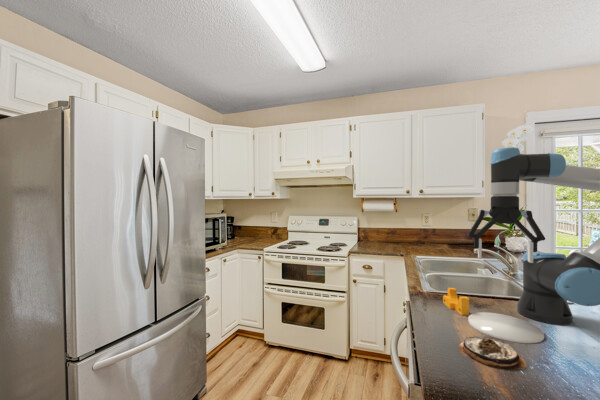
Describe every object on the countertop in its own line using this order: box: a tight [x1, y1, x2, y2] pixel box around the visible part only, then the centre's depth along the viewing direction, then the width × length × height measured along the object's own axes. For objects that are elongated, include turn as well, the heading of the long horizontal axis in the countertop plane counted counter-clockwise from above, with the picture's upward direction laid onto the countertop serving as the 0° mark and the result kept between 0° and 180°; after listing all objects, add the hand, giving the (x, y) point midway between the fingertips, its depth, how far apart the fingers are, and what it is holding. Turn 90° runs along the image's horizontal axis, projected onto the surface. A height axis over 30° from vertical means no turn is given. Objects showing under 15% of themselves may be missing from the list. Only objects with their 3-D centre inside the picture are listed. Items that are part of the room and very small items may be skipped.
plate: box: [467, 311, 545, 344], centre depth 90 cm, size 20×20×1 cm
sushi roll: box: [458, 335, 527, 371], centre depth 74 cm, size 15×15×4 cm
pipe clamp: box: [442, 287, 470, 316], centre depth 107 cm, size 12×4×6 cm, turn 174°
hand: (504, 259), depth 90 cm, fingers open, 13 cm apart
